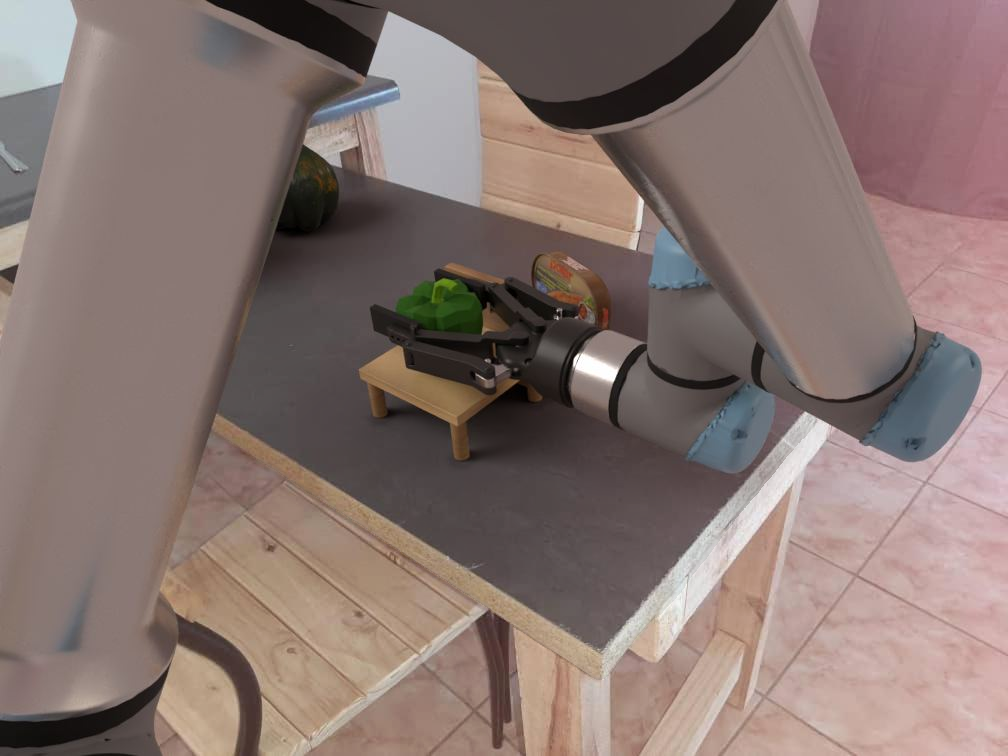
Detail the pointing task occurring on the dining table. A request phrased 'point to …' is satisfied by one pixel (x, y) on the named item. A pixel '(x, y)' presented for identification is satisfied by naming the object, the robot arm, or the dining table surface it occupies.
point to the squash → (310, 193)
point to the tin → (573, 286)
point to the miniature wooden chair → (438, 381)
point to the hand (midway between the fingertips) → (407, 298)
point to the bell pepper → (443, 307)
